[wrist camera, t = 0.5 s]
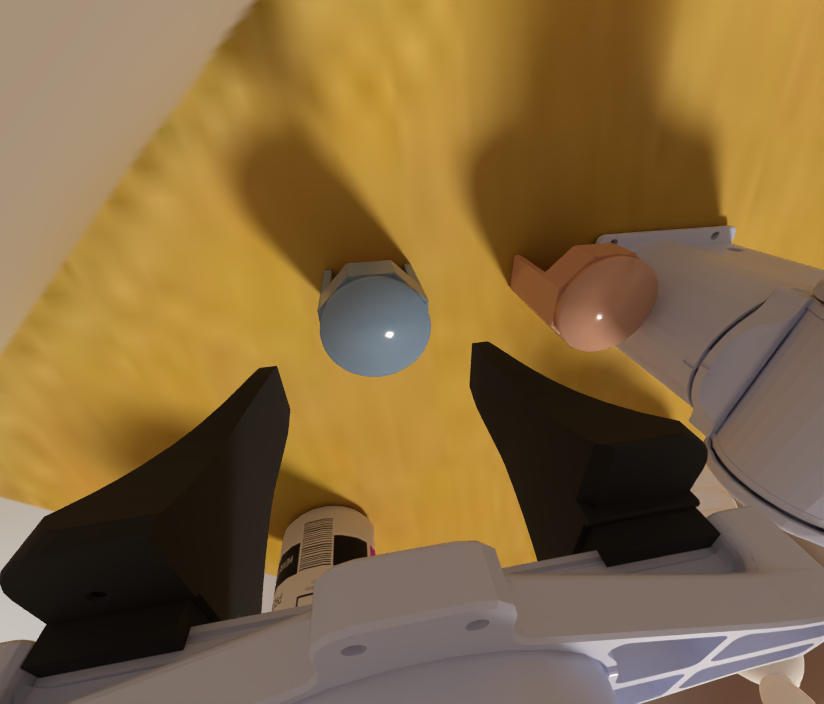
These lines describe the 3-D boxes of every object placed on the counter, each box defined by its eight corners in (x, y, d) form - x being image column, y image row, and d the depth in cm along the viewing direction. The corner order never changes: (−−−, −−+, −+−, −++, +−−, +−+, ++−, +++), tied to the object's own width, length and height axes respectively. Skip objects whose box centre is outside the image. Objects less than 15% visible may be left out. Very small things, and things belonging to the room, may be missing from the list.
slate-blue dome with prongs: (409, 238, 20) (430, 274, 15) (412, 317, 22) (430, 370, 17) (319, 244, 19) (309, 284, 14) (333, 325, 22) (329, 382, 17)
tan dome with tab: (596, 225, 21) (673, 253, 16) (577, 301, 24) (638, 346, 19) (517, 230, 20) (572, 262, 15) (507, 308, 23) (551, 356, 18)
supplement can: (389, 529, 35) (412, 754, 22) (320, 561, 36) (305, 793, 23) (342, 489, 30) (338, 740, 18) (265, 527, 31) (211, 789, 19)
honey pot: (530, 496, 35) (665, 763, 20) (620, 406, 30) (890, 676, 15) (612, 516, 40) (769, 744, 25) (702, 441, 35) (968, 673, 20)
